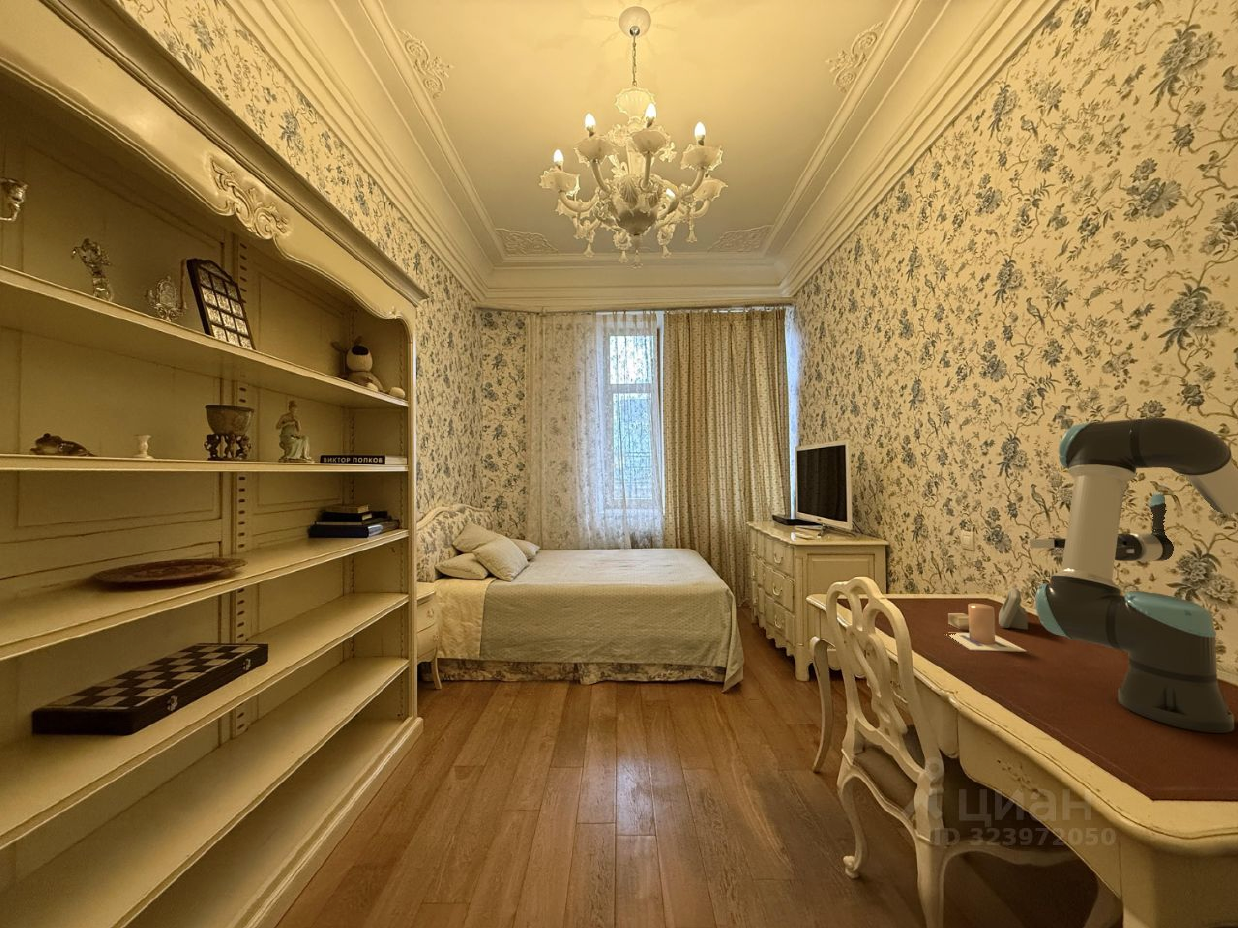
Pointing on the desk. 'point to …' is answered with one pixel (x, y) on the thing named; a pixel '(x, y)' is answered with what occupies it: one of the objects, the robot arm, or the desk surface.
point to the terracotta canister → (981, 624)
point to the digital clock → (1013, 611)
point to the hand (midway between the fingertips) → (1046, 547)
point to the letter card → (998, 646)
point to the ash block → (959, 620)
